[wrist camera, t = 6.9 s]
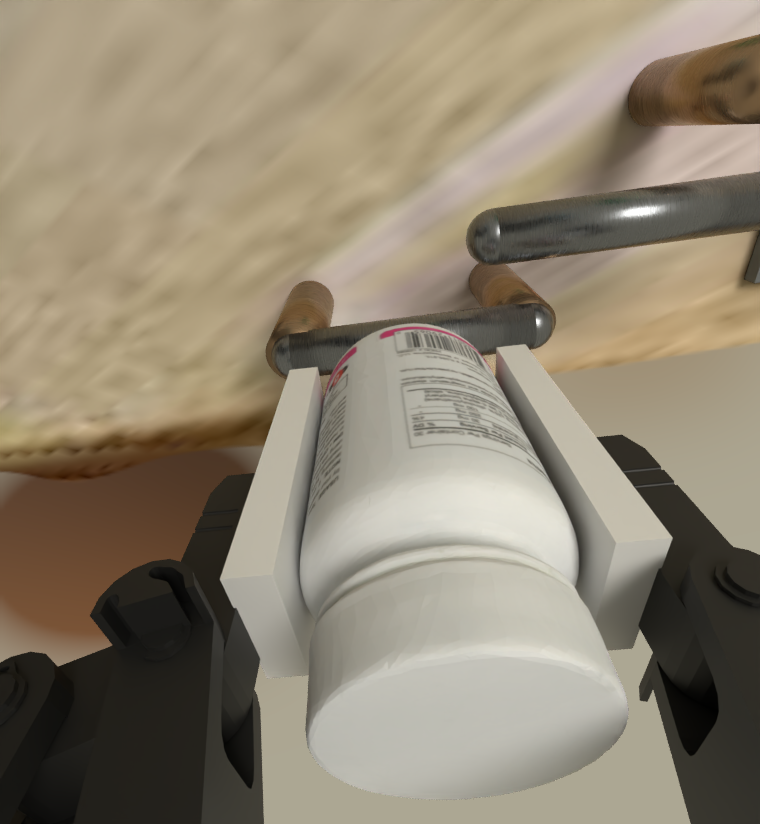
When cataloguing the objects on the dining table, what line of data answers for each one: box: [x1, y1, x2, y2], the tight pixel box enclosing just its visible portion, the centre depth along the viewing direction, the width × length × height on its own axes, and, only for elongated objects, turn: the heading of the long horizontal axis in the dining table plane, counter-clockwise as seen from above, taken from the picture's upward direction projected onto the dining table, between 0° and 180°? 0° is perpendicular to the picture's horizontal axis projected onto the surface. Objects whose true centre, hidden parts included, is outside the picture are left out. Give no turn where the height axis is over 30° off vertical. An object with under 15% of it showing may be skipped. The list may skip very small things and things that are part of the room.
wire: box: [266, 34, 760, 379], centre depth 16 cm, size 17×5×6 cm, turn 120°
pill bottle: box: [300, 323, 628, 800], centre depth 9 cm, size 5×5×8 cm
